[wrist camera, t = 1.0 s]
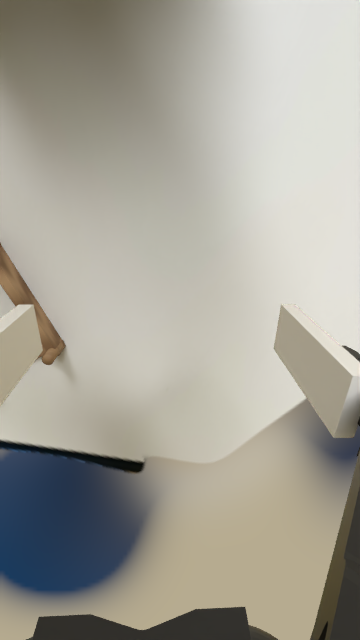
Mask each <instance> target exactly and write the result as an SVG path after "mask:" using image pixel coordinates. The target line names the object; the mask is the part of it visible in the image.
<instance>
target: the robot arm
mask: <svg viewBox="0 0 360 640" xmlns="http://www.w3.org/2000/svg"><path fill="white" fill-rule="evenodd" d="M274 350H275V352H276V353H277V354H278V356H279V357H280V359H281V360H282V362H283V363H284V365H285V366H286V368H287V369H288V371H289V372H290V374H291V375H292V377H293V378H294V380H295V381H296V383H297V384H298V386H299V387H300V389H301V390H302V392H303V393H304V395H305V396H306V397H307V399H308V400H309V402H310V403H311V405H312V406H313V408H314V409H315V411H316V412H317V414H318V415H319V417H320V418H321V420H322V421H323V423H324V424H325V425H326V427H327V429H328V430H329V431H330V433H331V435H332V436H333V437H334V438H350V437H354V435H355V432H356V429H357V427H358V425H359V426H360V354H359V353H358V352H356V351H355V350H353V349H351V348H349V347H347V346H341V345H340V344H339V343H338V342H337V341H336V340H334V339H333V338H332V337H331V336H330V335H329V334H328V333H327V332H325V331H324V330H323V329H322V328H321V327H320V326H319V325H318V324H316V323H315V322H314V321H313V320H312V319H311V318H310V317H309V316H307V315H306V314H305V313H304V312H303V311H302V310H301V309H300V308H299V307H297V306H296V305H295V304H281V309H280V315H279V320H278V326H277V332H276V338H275V344H274ZM42 351H43V349H42V344H41V339H40V334H39V329H38V324H37V319H36V314H35V309H34V305H17V306H16V307H15V308H13V309H12V310H11V311H10V312H8V313H7V314H6V315H4V316H3V317H2V318H1V319H0V406H1V405H2V403H3V402H4V401H5V399H6V398H7V397H8V395H9V394H10V393H11V391H12V390H13V389H14V388H15V386H16V385H17V384H18V382H19V381H20V380H21V378H22V377H23V376H24V375H25V373H26V372H27V371H28V369H29V368H30V367H31V365H32V364H33V363H34V361H35V360H36V359H37V358H38V356H39V355H40V354H41V352H42ZM357 456H358V459H357V463H356V467H355V471H354V475H353V479H352V483H351V486H350V490H349V494H348V498H347V502H346V506H345V509H344V513H343V517H342V521H341V525H340V529H339V533H338V537H337V540H336V545H335V548H334V552H333V556H332V560H331V564H330V568H329V571H328V575H327V580H326V583H325V587H324V591H323V595H322V599H321V602H320V606H319V610H318V614H317V618H316V622H315V625H314V629H313V632H312V635H311V638H310V640H360V448H359V451H358V454H357ZM26 640H278V639H277V638H275V637H274V636H272V635H271V634H269V633H267V632H265V631H263V630H261V629H259V628H256V627H253V626H250V625H248V620H247V614H246V609H245V607H234V608H213V609H195V610H193V611H191V612H188V613H186V614H183V615H181V616H178V617H176V618H174V619H171V620H169V621H166V622H164V623H162V624H159V625H157V626H154V627H152V628H150V629H147V630H137V629H134V628H131V627H128V626H125V625H121V624H118V623H116V622H112V621H109V620H106V619H103V618H100V617H97V616H94V615H69V616H49V617H39V619H38V622H37V625H36V629H35V632H34V635H33V637H31V638H29V639H26Z"/></svg>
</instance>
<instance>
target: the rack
mask: <svg viewBox="0 0 360 640" xmlns="http://www.w3.org/2000/svg"><path fill="white" fill-rule="evenodd" d="M0 284H1V286H2V287H3V289H4V290H5V292H6V293H7V294H8V296H9V297H10V299H11V300H12V302H13V303H14V305H15V306H17V305H34V309H35V314H36V319H37V324H38V329H39V334H40V339H41V344H42V349H43V351H42V352H41V354H40V355H39V356H38V357H41V356H43V357H42V362H43V363H44V364H46V365H51V364H52V363H53V362H54V360H55V359H56V357H57V356H58V355H60V353H61V352H62V350H63V349H64V347H65V346H66V345H65V343H64V341H63V340H62V339H61V338H60V336H59V335H58V333H57V331H56V330H55V328H54V327H53V325H52V324H51V322H50V321H49V319H48V317H47V316H46V314H45V313H44V311H43V310H42V308H41V307H40V305H39V303H38V302H37V300H36V299H35V297H34V296H33V294H32V292H31V291H30V289H29V288H28V286H27V285H26V283H25V282H24V280H23V278H22V277H21V275H20V274H19V272H18V271H17V269H16V268H15V266H14V264H13V263H12V261H11V260H10V258H9V257H8V255H7V254H6V252H5V250H4V249H3V247H2V246H1V243H0Z"/></svg>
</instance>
